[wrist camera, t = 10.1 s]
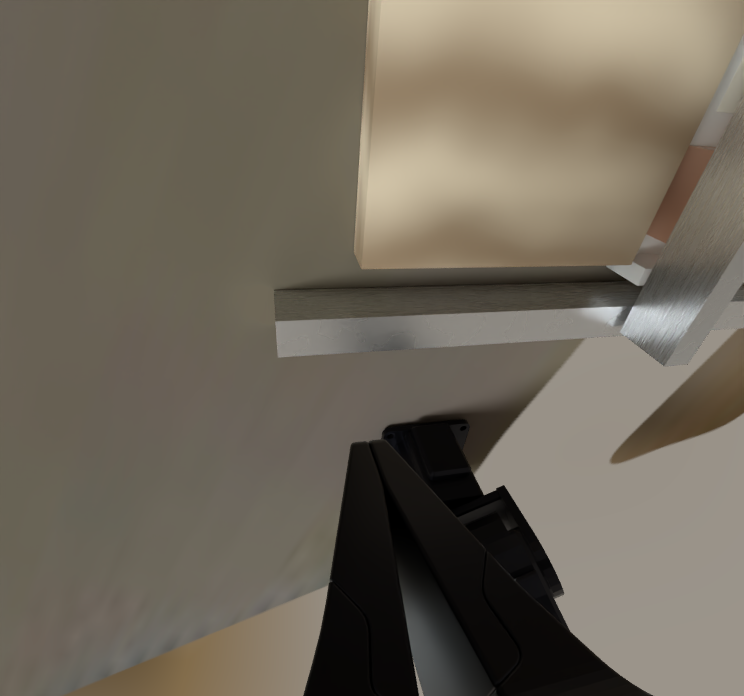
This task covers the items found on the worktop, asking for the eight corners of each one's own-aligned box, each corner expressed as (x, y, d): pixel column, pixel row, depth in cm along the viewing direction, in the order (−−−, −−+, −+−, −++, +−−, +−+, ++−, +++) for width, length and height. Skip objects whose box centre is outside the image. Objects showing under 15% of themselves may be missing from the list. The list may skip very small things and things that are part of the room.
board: (606, 250, 23) (631, 265, 22) (354, 252, 20) (361, 269, 18) (743, -62, 16) (796, -74, 14) (377, -144, 12) (393, -172, 11)
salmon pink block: (706, 233, 24) (755, 253, 21) (643, 233, 23) (688, 253, 20) (754, 149, 21) (816, 161, 19) (686, 144, 20) (743, 156, 18)
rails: (724, 303, 28) (767, 326, 26) (276, 324, 21) (277, 357, 19) (1028, -149, 16) (1159, -184, 14) (226, -441, 9) (214, -610, 7)
